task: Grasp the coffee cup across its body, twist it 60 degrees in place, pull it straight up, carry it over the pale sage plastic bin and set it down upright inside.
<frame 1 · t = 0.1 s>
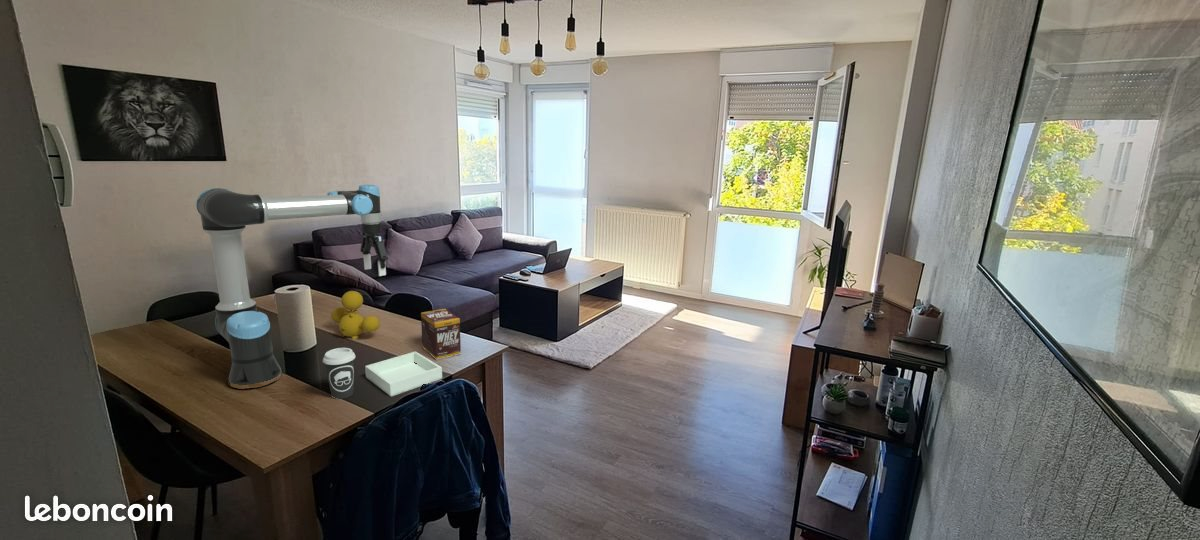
hand: (375, 272, 207), 28 cm above the table, fingers open, 13 cm apart
toy: (353, 336, 210), on the table
bin: (404, 378, 175), on the table
supplement box: (441, 351, 199), on the table
coffee cup: (342, 394, 162), on the table
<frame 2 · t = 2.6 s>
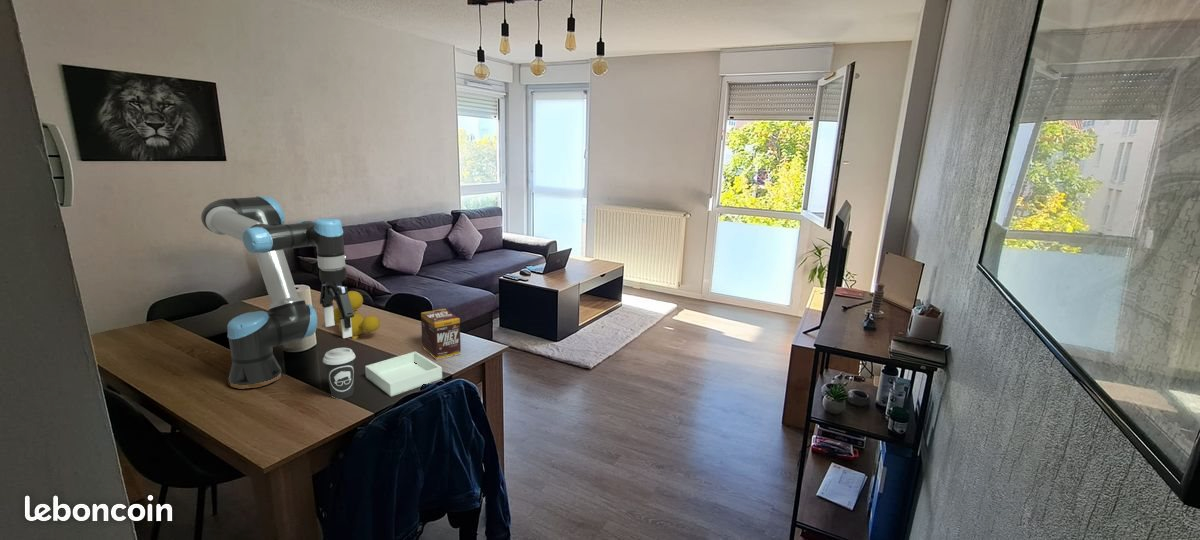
hand: (338, 331, 158), 22 cm above the table, fingers open, 13 cm apart
nothing on the table moved.
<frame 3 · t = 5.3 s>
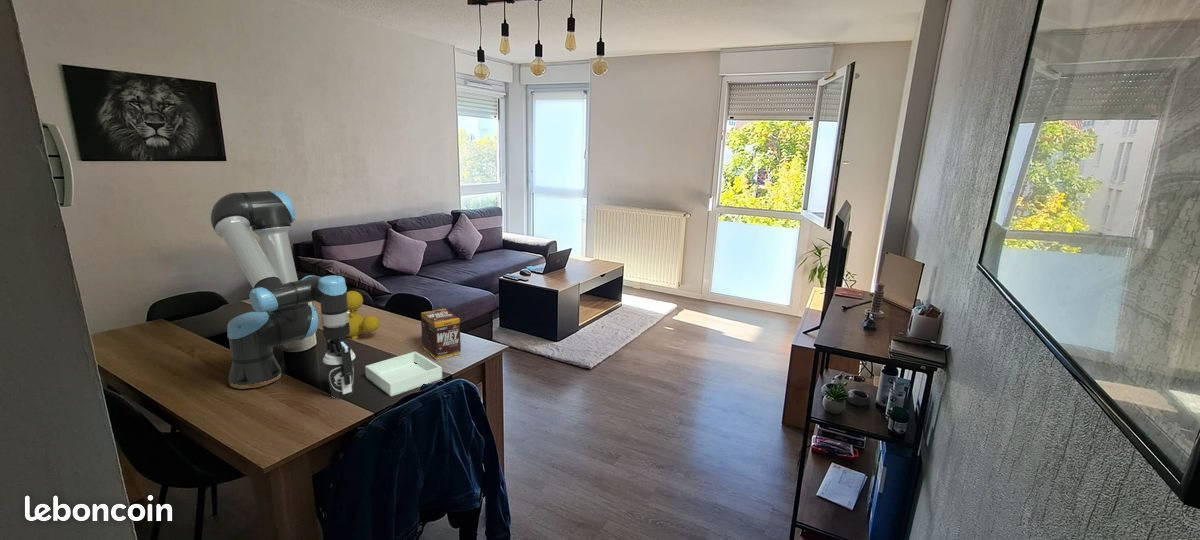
hand: (342, 388, 162), 2 cm above the table, fingers closed on coffee cup, 7 cm apart
coffee cup: (342, 394, 162), on the table, touching gripper
everything else where it was.
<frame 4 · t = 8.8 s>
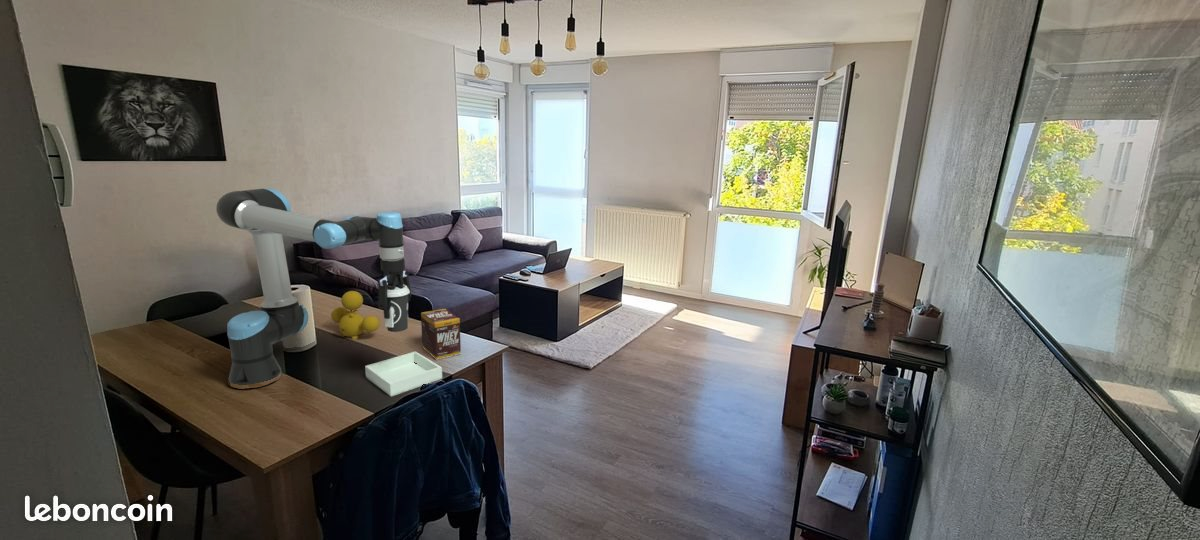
hand: (397, 322, 168), 22 cm above the table, fingers closed on coffee cup, 7 cm apart
coffee cup: (397, 329, 169), point 19 cm above the table, touching gripper
everything else where it was.
when the fingers open (5 cm above the table, at t = 12.4 s): coffee cup drops 2 cm, point 1 cm above the table.
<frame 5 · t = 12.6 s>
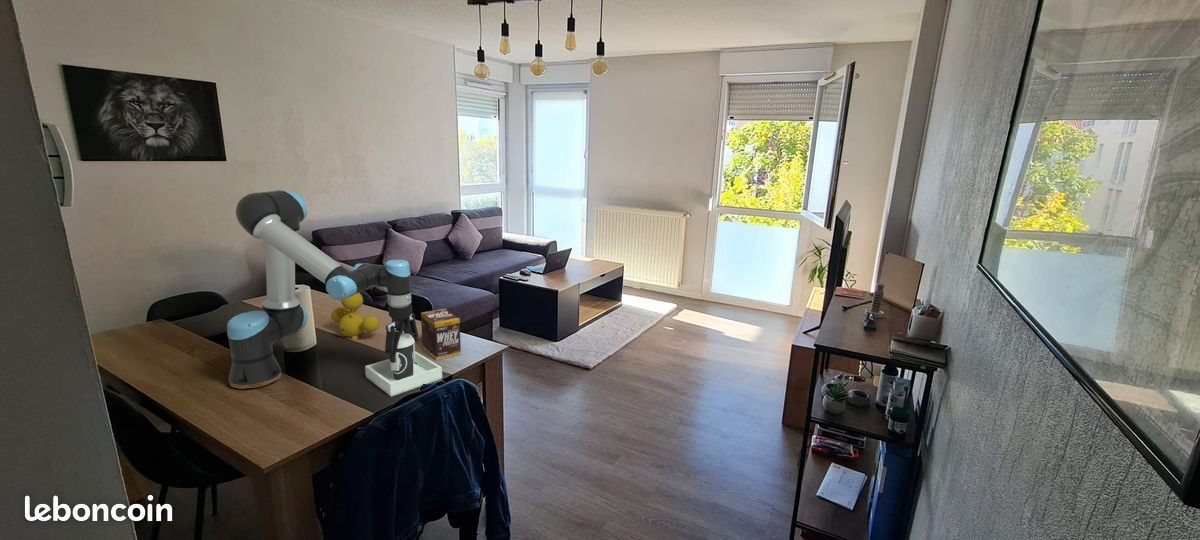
hand: (403, 364, 174), 5 cm above the table, fingers open, 9 cm apart
coffee cup: (403, 376, 175), point 1 cm above the table, touching gripper
everything else where it was.
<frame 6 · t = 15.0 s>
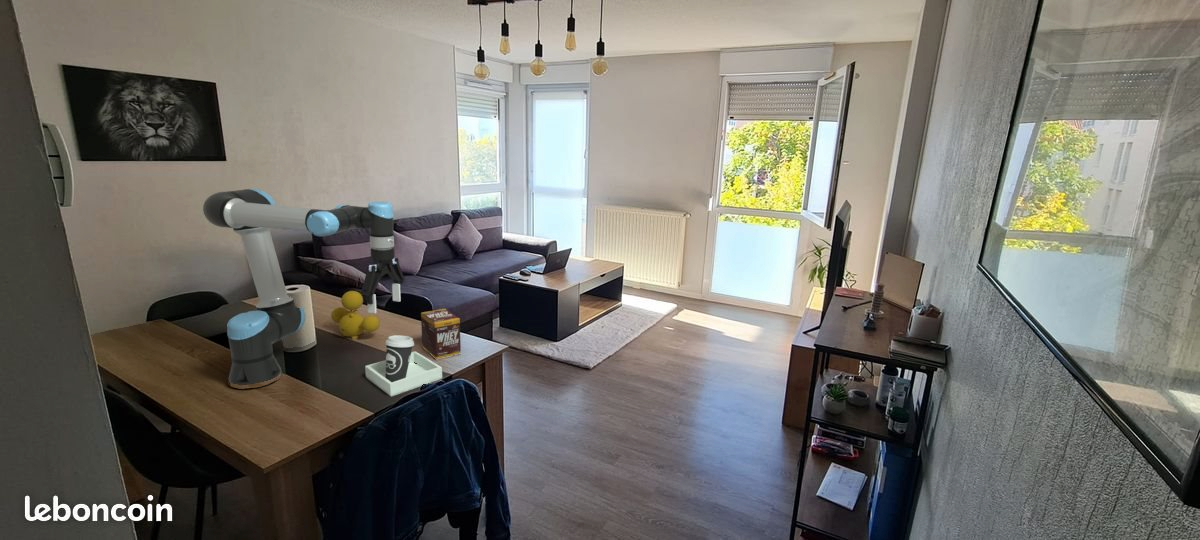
hand: (384, 306, 171), 26 cm above the table, fingers open, 13 cm apart
coffee cup: (395, 380, 171), point 1 cm above the table, touching bin
everything else where it was.
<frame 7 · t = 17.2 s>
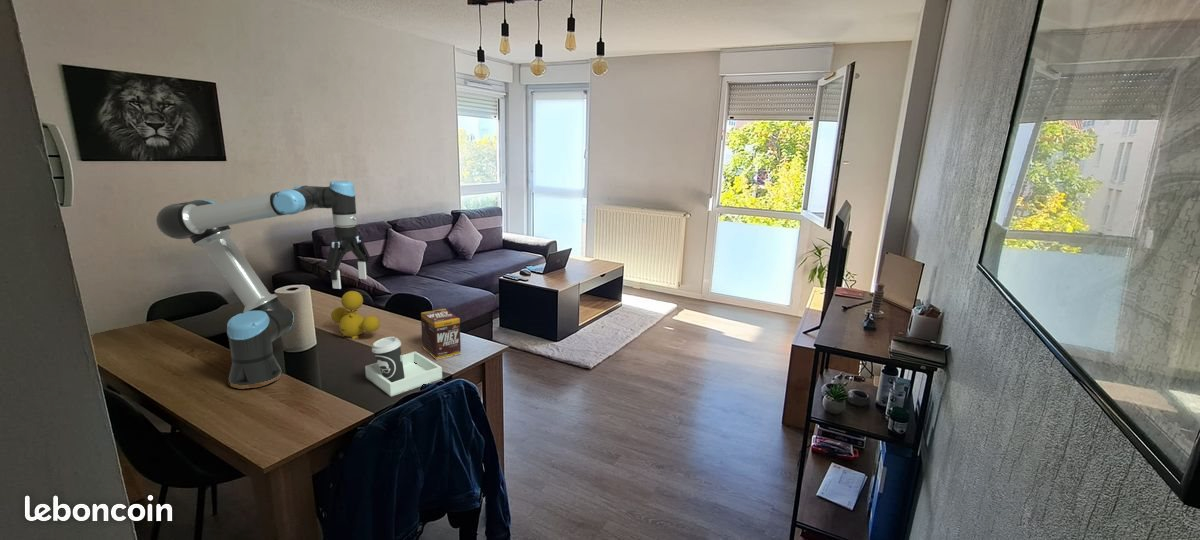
hand: (350, 283, 177), 32 cm above the table, fingers open, 13 cm apart
at the end: coffee cup inside the target area on the bin (4.4 cm from its centre), point 0.9 cm above the bin's base; coffee cup tilted 9°; the gripper is holding nothing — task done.
